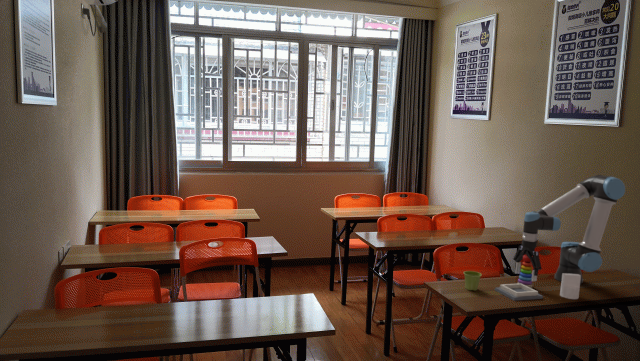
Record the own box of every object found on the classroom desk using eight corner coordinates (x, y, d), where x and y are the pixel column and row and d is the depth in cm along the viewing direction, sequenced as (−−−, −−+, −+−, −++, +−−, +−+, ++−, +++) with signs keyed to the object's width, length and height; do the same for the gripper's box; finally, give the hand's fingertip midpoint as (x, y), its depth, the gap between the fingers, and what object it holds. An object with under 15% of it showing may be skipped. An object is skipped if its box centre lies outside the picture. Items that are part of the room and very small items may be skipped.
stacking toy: (534, 289, 283) (538, 256, 281) (520, 288, 283) (523, 255, 281) (529, 284, 291) (532, 252, 289) (514, 283, 291) (518, 251, 289)
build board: (522, 288, 283) (522, 282, 283) (542, 298, 268) (543, 292, 268) (494, 290, 278) (495, 283, 277) (513, 300, 263) (514, 294, 262)
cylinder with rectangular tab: (573, 293, 279) (576, 272, 277) (581, 299, 270) (584, 277, 268) (556, 292, 279) (559, 271, 278) (564, 298, 270) (566, 276, 269)
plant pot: (474, 293, 271) (475, 277, 270) (458, 288, 278) (460, 272, 277) (483, 289, 278) (485, 274, 276) (468, 285, 285) (469, 269, 283)
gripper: (509, 235, 295) (505, 270, 297) (539, 245, 271) (535, 284, 274) (520, 234, 297) (516, 270, 300) (551, 245, 273) (547, 284, 276)
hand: (525, 277), depth 287 cm, fingers open, 13 cm apart
